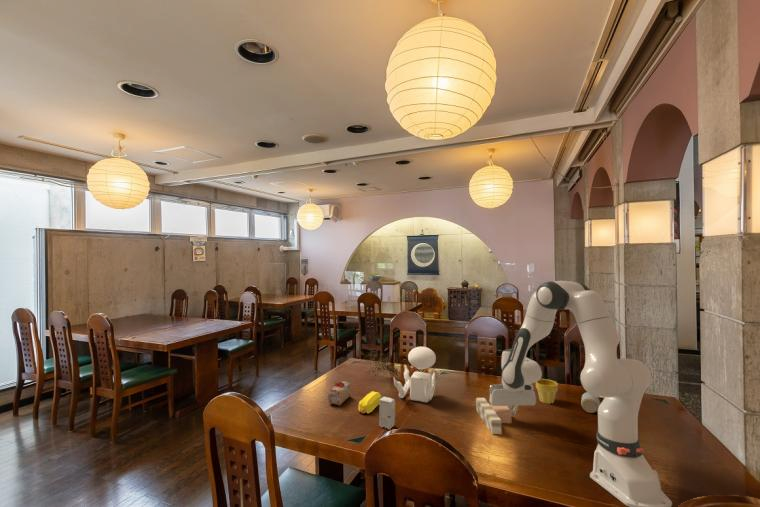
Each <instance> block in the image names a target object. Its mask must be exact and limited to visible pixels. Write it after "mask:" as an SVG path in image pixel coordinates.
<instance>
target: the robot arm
mask: <svg viewBox="0 0 760 507" xmlns="http://www.w3.org/2000/svg"><path fill="white" fill-rule="evenodd" d="M526 308H527V309H526V312H525V316H524V320H523V322H522V324H521V327H520V328H519V330H517V333H516V334H515V335H516V336H515V338H514V340H513V343H512V347H511V348H507V349H503V351H502V353H501V362H500V363H501V383H499V384H492V385H490V386H489V389H488V391H489V404H490V405H493V406H507V407H508V408H509V410H510V411H511V416H516V415H517V411H518V410H519V406H535V405H536V404H537V396H536V393H535V391H534V388H535V387H534V385H533V384H534V383H536V382H537V381H539V380H540V379H542V376H543V370H542V366H540V364H539V363H538V362H537V361H535V360H533V359H531V358H529V357H527V355H528V351H529V350H530V348H531V347H532V346H533V345H535V344H536V343H538V342H539V341H541V340H543V339H544V338H546V337H548V336H549V335H550V334H551V331H552V330H553V327H554V324H555V319H556V314H557V312H558V310H559V311H561V310H562V311H563V310H569V311H570V312H571V313H572V314H573V316H574V319H575V322H576V324H577V327H578V330H579V333H580V336H581V340H582V342H583V345H584V346H583V347H584V354H585V355H584V356H585V358H584V359H585V360H584V366H583V368H582V370H581V371H580V377H579V379H580V383H581V385H582V387H583V388H584V390H585V391H586V392H588V393H589V394H591V395H592V396H595V397H598V398H603V400H602V401H601V402H600V405H599V407H598V411H597V430H596V442H597V446H596V449H595V450H594V454H593V464H592V466H593V467H592V471H591V472H590V473H589V478H590V479H592V480H593V481H594V482H596V483H597V484H598V485H600V486H601V487H602V489H605V490H606V491H607V492H608V493H610V494H611V495H612V496H614V497H615V498H617V500H619V501H620V502H621V503H623V505H625V506H626V507H672V506H673V502H672V500H671V499H670V498H669V497H668V496H667V495H666V494H665V493H664V491H663V490H662V486H661V482H660V479H659V474H658V471H657V470H656V469H653V468H652V467H651V465H650V463H649V462H648V460H647V459H646V458H645V456H644V455H643V454H644V453H645V451H644V450H645V448H642V445H641V444H642V443H641V441H640V439H639V437H638V436H639V433H638V430H639V429H638V427H639V426H638V423H639V422H638V420H639V419H638V418H639V412H640V407H641V404H642V400H643V397H644V394H645V391H646V390H647V388H648V386H649V385H650V384H651V383H652V378H653V376H652V372H651V370H650V369H649V367H648V366H647V365H646V364H645V362H642V361H641V360H639V359H633V358H618V355H617V354H618V353H617V349H618V345H619V343H620V341H621V340H620V339H621V338H620V336H619V333H618V331H617V328H616V326H615V323H614V321H613V318H612V316H611V313H610V311H609V309H608V307H607V305H606V304H605V302H604V300H603V298H602V297H601V296H600V294H599V293H598V292H597V291H594V290H590V288H589V287H588V285H586V284H584V283H583V282H581V281H575V280H573V281H571V280H569V281H568V280H554V281H546V282H543V283H541V284H540V285H539V286H538V287H537V289H536V291H535V292H534V293H532V295H531V296H530V300H529V302H528V305H527V307H526ZM513 406H514V407H513ZM512 407H513V409H512Z"/></svg>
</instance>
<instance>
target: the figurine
mask: <svg viewBox="0 0 760 507" xmlns="http://www.w3.org/2000/svg"><path fill="white" fill-rule="evenodd" d="M407 358H408V359H407V360H408V362H409V363H410V365H411V366H413V367H414V368H417V369H420V370H422V369H423V370H425V369H429V368H431V367H432V366H434V364H435V363H436V360H437V357H436V353H435V352H434V351H433V350H432V349H431V348H429V347H427V346H416V347H413V348H412V349H411V350H410V351H409V352H408V355H407ZM403 378H404V381H405V383H404V385H403V384H402V382H401V381H398V380H397V379H396V378H395V375H393V386H394V387H395V388H396V389H397V392H398V398H400V399H404V397H406V395H407V393H408V391H409V400H411V401H416V402H420V403H429V402H430V401H431V400H432V399H433V396H434V395H435V389H436V381H437V380H436V372H435V371H434V372H433V373H429V372H422V371H414V372H413V373H412V375H411V376H410V370H409V368H408V367H407V365H406V364H404V371H403Z"/></svg>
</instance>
